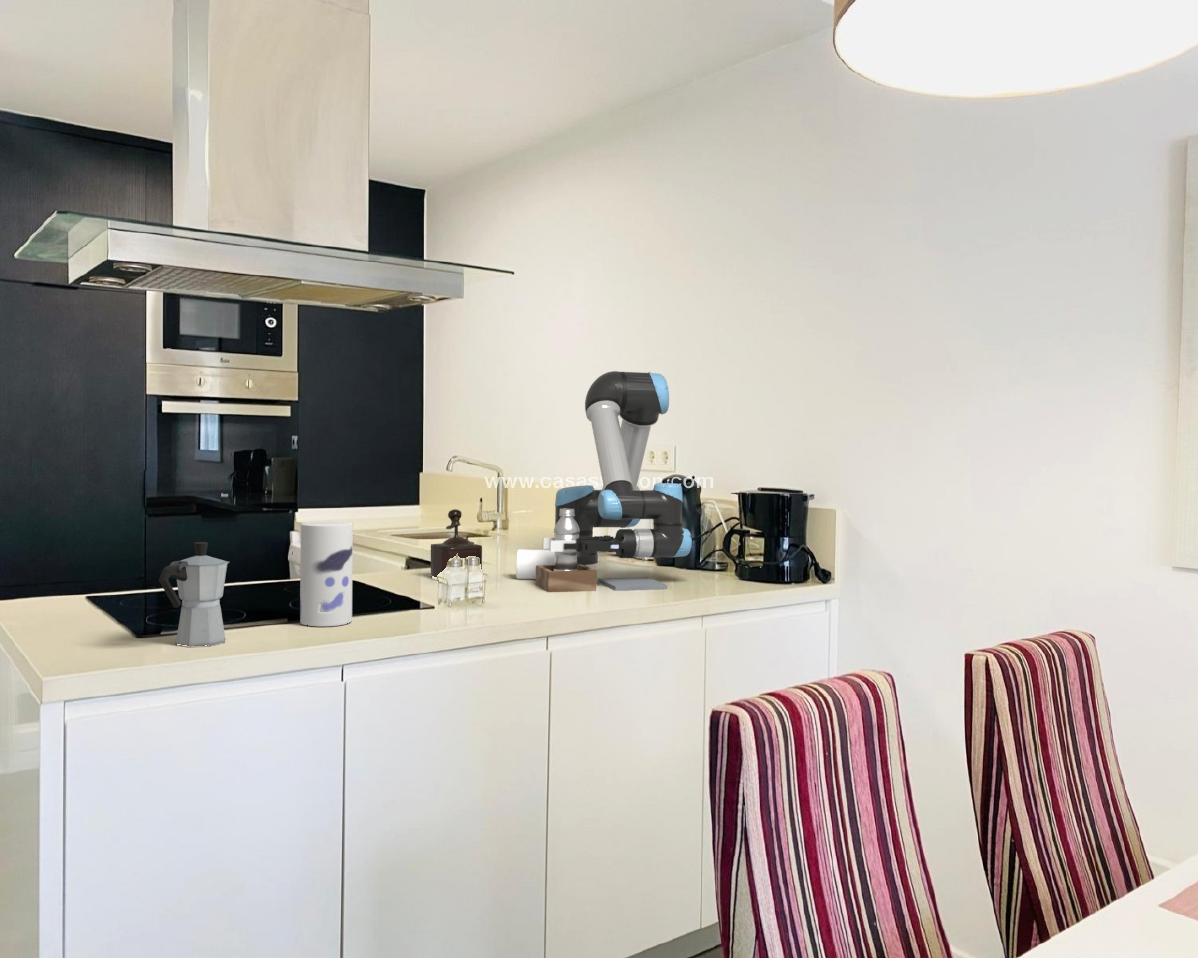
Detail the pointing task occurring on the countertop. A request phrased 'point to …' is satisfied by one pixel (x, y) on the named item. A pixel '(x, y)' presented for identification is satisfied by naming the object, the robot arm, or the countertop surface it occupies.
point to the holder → (566, 579)
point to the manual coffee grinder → (452, 547)
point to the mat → (632, 583)
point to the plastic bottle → (566, 531)
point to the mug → (532, 562)
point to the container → (326, 573)
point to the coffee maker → (197, 597)
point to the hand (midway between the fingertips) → (546, 544)
